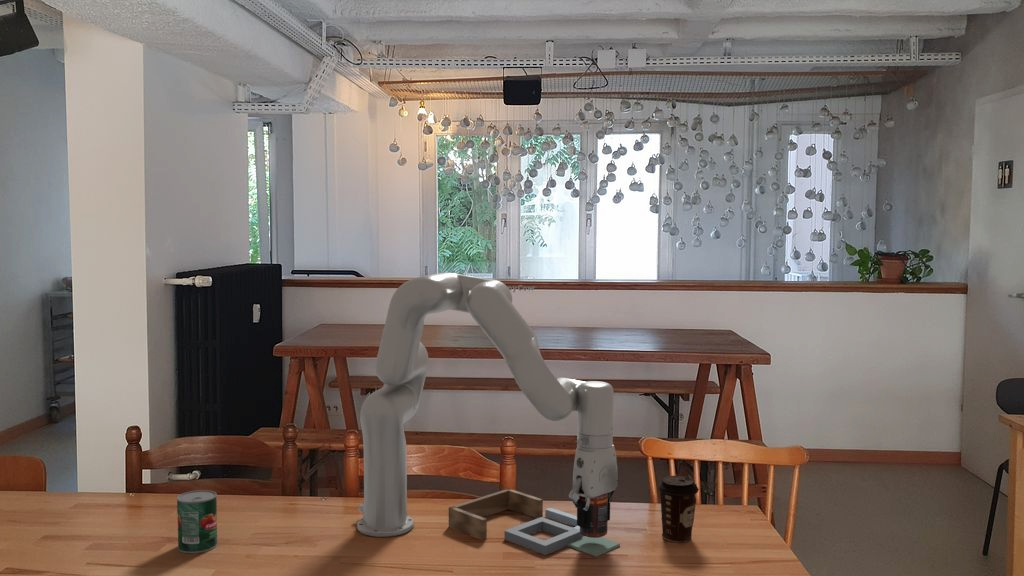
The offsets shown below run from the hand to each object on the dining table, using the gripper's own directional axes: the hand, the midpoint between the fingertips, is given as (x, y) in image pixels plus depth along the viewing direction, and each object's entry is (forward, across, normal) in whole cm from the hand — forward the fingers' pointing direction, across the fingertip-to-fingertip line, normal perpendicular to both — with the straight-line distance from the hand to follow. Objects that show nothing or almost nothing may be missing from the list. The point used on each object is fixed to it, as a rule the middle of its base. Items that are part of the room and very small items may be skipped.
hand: (593, 522), depth 177 cm
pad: (+5, 0, 0) cm, 5 cm away
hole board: (+5, -5, +10) cm, 12 cm away
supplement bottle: (+3, 0, 0) cm, 3 cm away
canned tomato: (+6, -60, +59) cm, 84 cm away
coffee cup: (+5, +17, -10) cm, 21 cm away
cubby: (+5, -5, +24) cm, 25 cm away
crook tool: (+5, +4, +12) cm, 14 cm away
